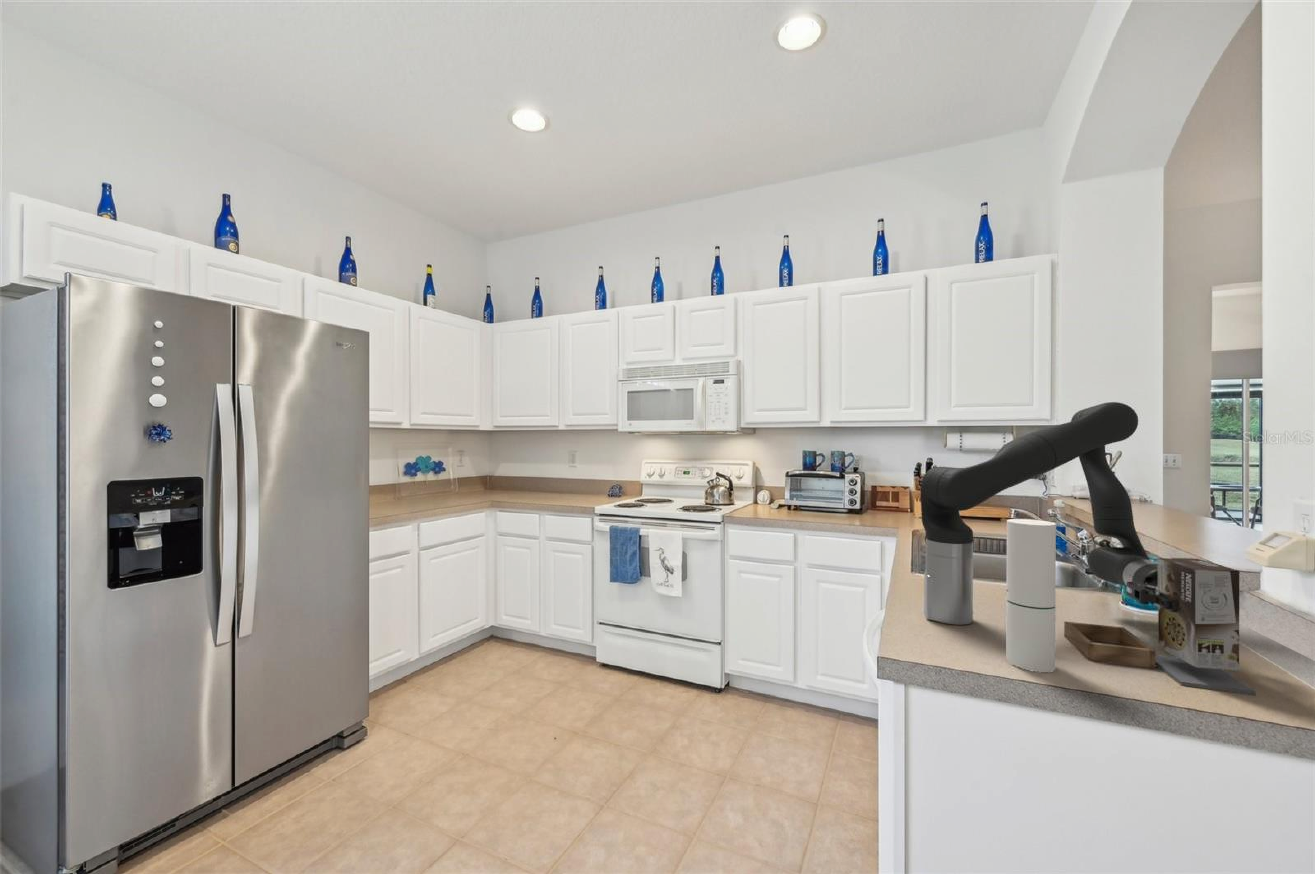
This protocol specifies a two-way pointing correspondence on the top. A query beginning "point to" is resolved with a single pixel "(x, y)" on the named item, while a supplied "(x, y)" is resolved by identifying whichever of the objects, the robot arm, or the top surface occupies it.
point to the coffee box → (1200, 612)
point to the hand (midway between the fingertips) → (1204, 609)
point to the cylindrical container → (1031, 594)
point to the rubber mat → (1200, 676)
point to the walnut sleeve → (1126, 654)
